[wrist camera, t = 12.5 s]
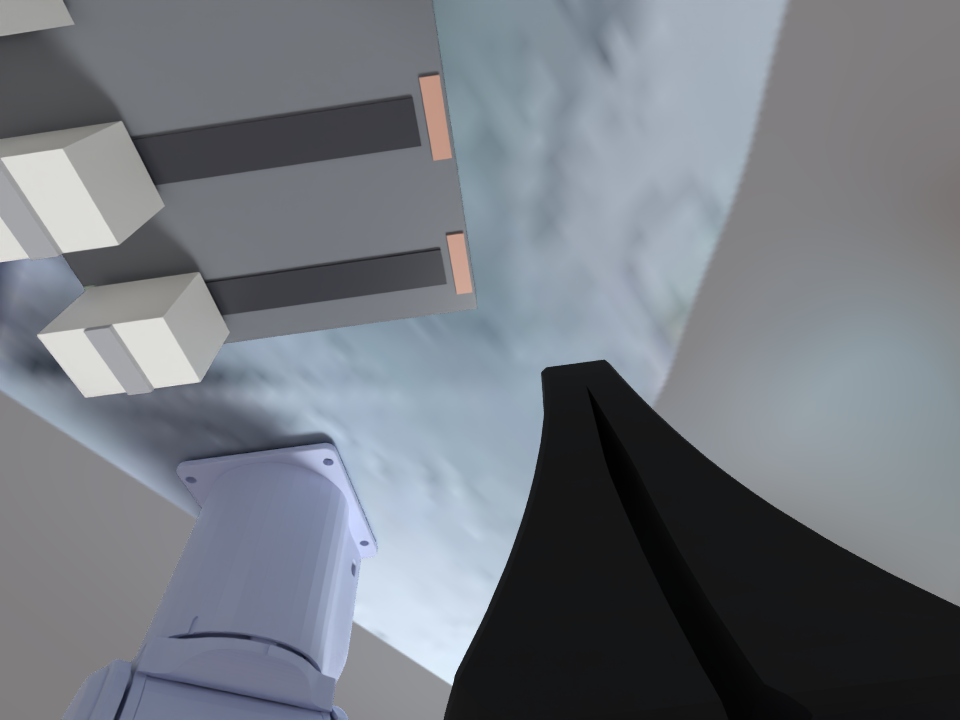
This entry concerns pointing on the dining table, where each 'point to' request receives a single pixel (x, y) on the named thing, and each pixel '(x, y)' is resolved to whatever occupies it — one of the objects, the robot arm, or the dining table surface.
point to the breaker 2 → (137, 335)
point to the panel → (266, 151)
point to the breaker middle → (72, 191)
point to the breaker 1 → (32, 15)
